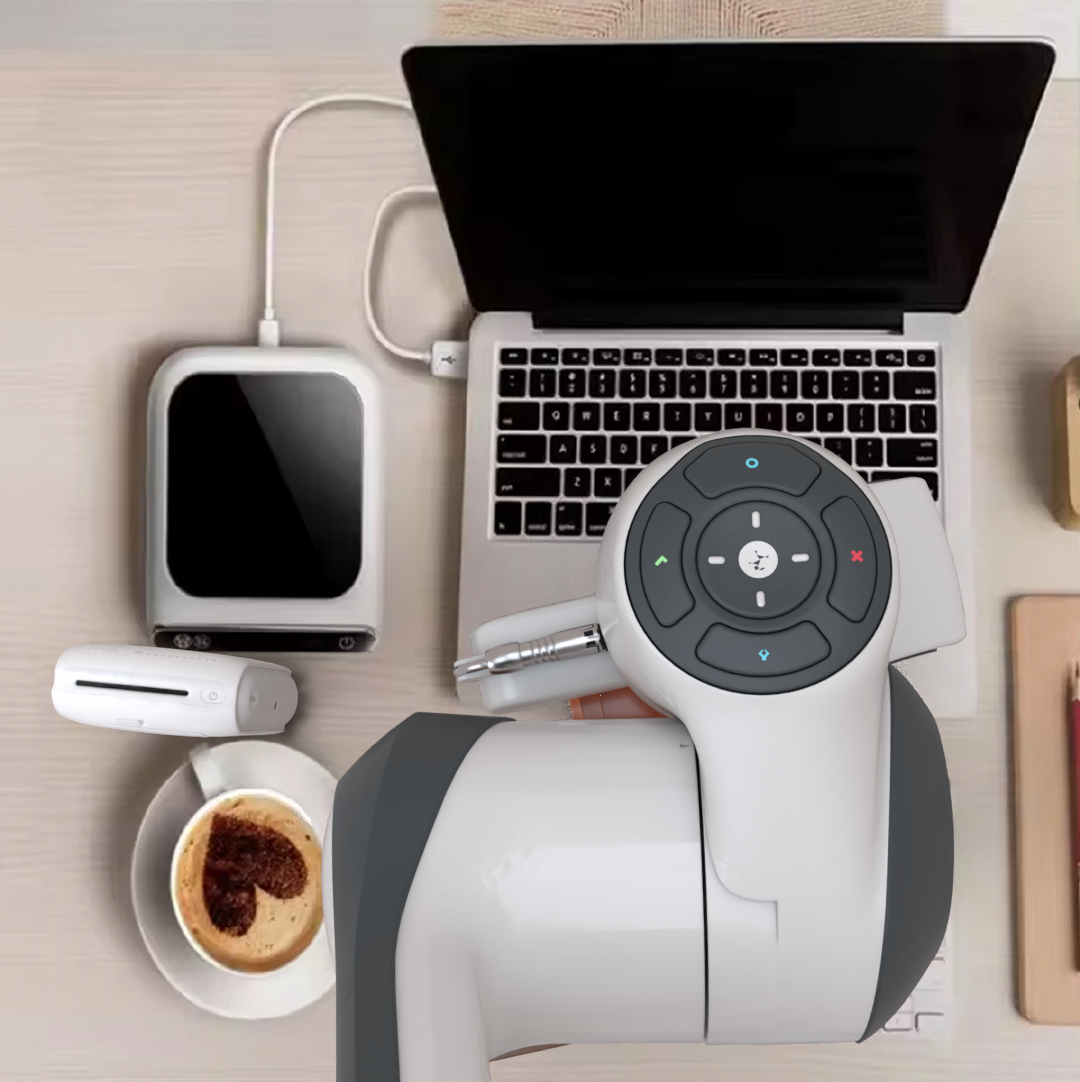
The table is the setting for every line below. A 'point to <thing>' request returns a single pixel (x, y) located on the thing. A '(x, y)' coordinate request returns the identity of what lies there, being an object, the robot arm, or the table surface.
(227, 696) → the photo printer
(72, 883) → the table surface
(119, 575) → the table surface
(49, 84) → the table surface
